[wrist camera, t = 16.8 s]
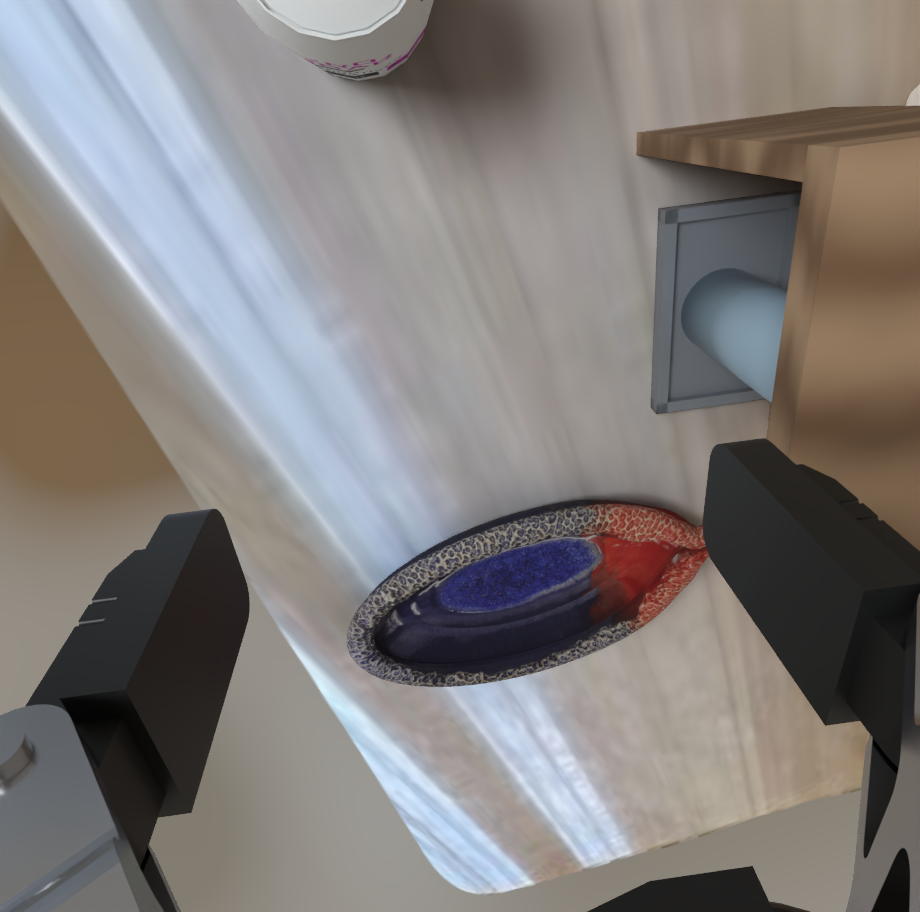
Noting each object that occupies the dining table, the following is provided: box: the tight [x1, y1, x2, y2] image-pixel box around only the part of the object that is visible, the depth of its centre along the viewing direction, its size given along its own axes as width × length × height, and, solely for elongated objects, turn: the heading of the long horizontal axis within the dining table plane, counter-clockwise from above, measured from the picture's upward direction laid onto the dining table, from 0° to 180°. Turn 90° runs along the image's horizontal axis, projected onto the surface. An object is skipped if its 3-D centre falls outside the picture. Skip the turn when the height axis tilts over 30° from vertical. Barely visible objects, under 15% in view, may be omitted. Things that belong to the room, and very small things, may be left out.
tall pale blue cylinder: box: [681, 268, 788, 403], centre depth 38 cm, size 6×6×12 cm
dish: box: [347, 500, 709, 687], centre depth 51 cm, size 16×31×5 cm, turn 107°
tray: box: [651, 190, 802, 414], centre depth 43 cm, size 14×9×1 cm, turn 6°
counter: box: [637, 106, 920, 551], centre depth 34 cm, size 21×12×20 cm, turn 6°
